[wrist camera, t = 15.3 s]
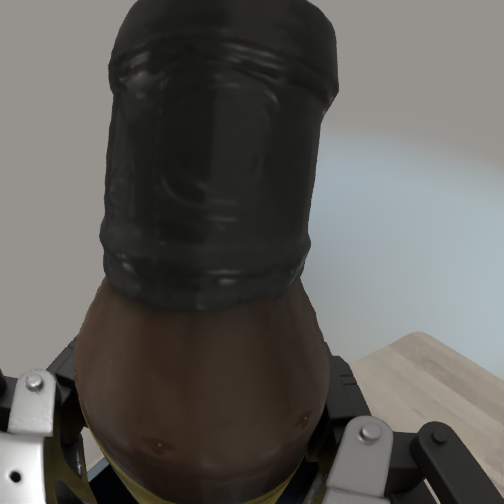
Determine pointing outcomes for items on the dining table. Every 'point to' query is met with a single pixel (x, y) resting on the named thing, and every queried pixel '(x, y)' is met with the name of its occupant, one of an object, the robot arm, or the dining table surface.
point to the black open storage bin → (121, 500)
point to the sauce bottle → (209, 251)
